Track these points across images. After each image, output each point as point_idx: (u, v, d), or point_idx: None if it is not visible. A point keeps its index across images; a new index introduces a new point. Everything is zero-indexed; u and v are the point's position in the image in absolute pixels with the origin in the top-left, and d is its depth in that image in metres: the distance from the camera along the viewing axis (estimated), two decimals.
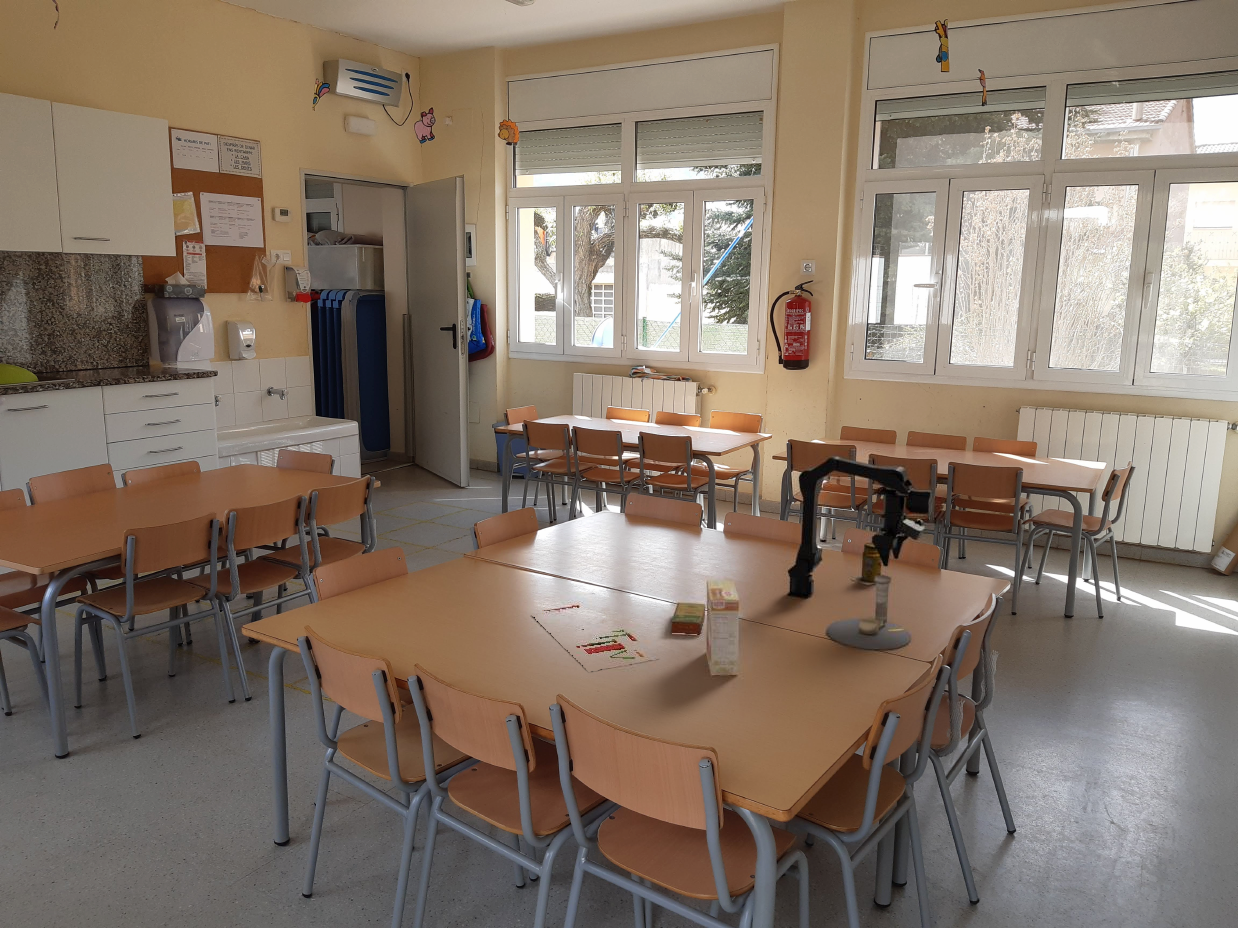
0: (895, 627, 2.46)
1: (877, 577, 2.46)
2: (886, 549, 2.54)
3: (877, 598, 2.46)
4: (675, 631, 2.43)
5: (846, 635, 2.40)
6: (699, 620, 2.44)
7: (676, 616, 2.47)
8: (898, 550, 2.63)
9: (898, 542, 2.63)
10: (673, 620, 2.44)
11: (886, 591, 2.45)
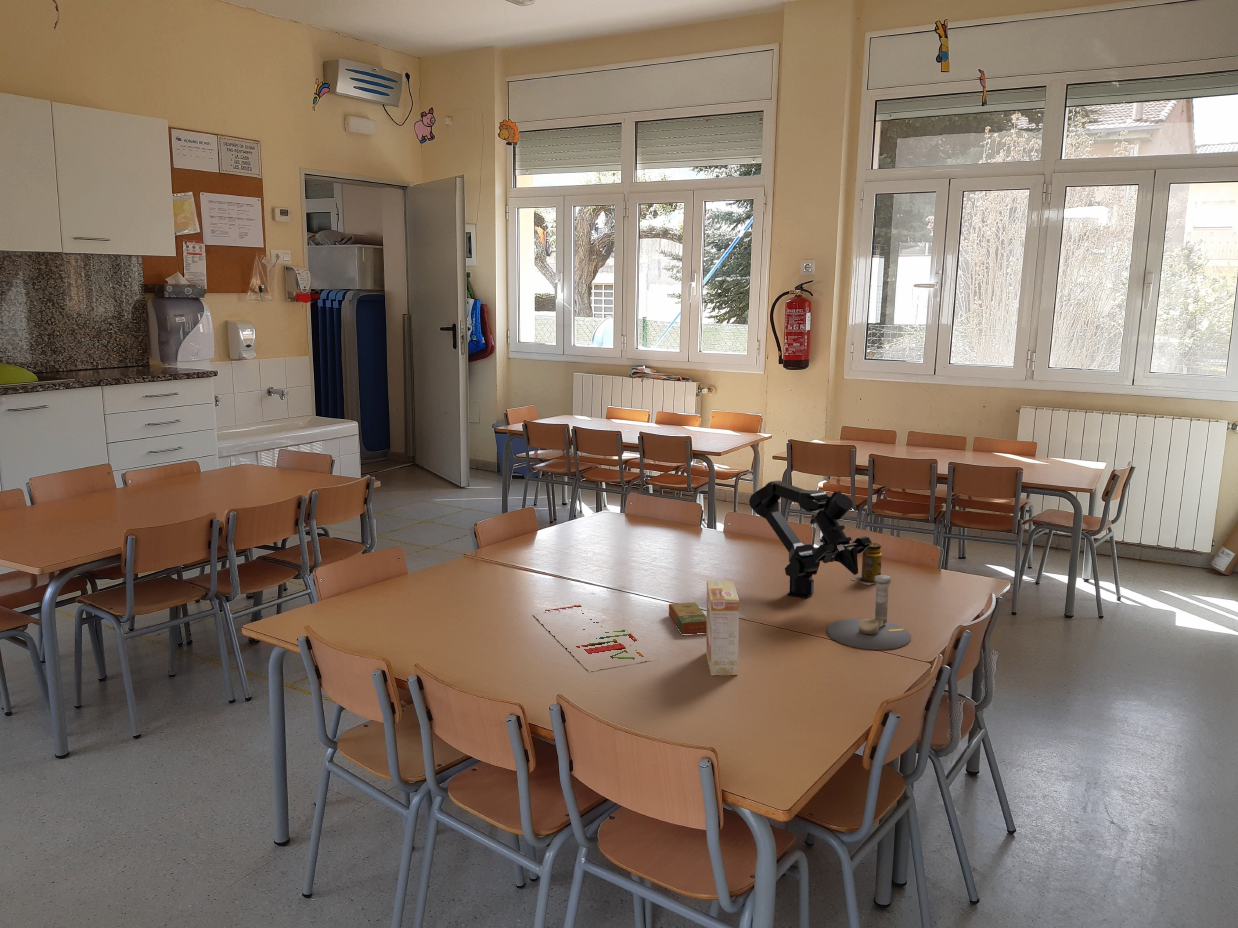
0: (895, 627, 2.46)
1: (877, 577, 2.46)
2: None
3: (877, 598, 2.46)
4: (686, 632, 2.43)
5: (846, 635, 2.40)
6: (706, 618, 2.45)
7: (681, 617, 2.46)
8: None
9: None
10: (683, 621, 2.43)
11: (886, 591, 2.45)
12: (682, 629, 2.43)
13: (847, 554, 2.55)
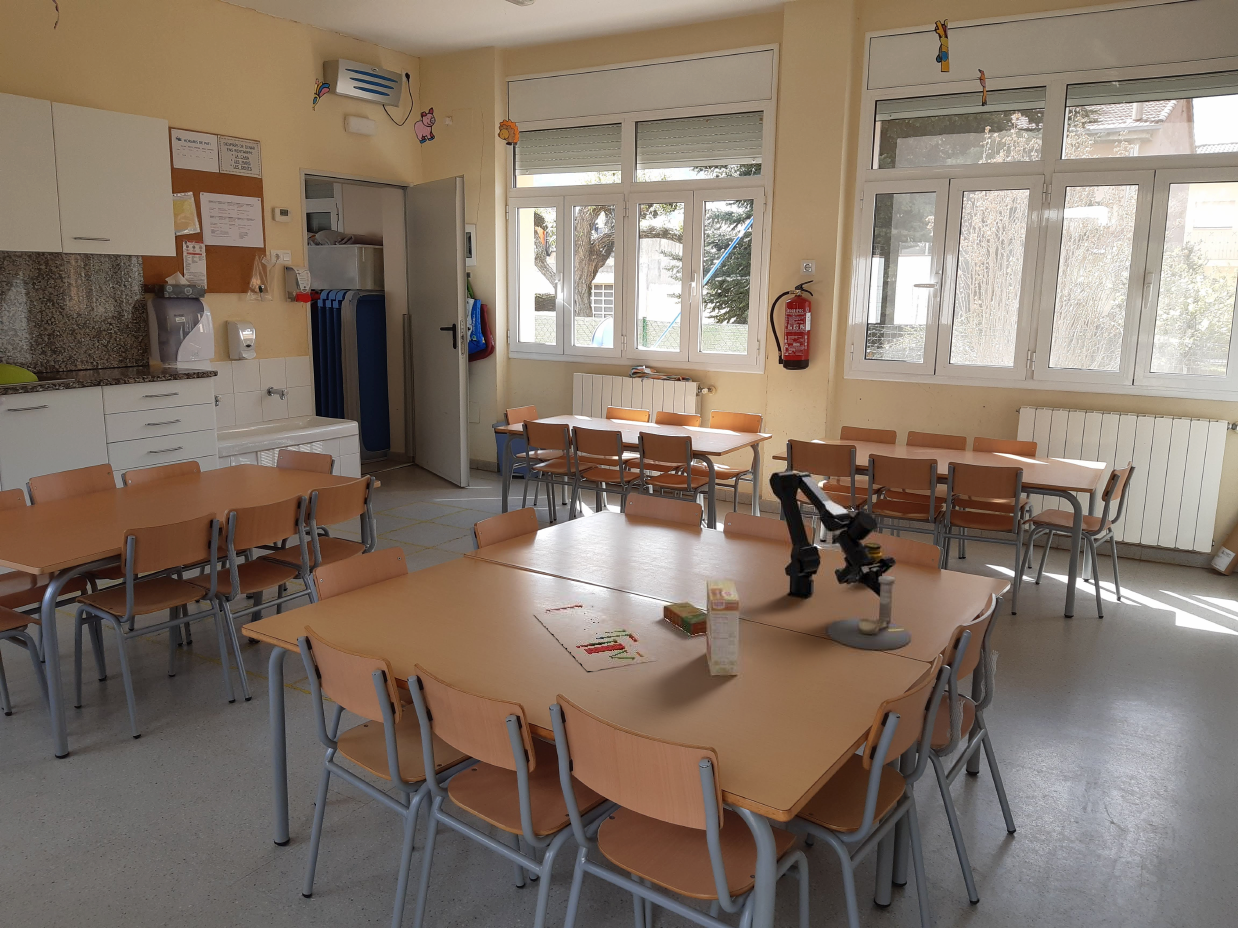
0: (895, 627, 2.46)
1: (881, 578, 2.45)
2: None
3: (880, 599, 2.46)
4: (695, 632, 2.43)
5: (846, 635, 2.40)
6: None
7: (686, 617, 2.46)
8: None
9: None
10: (691, 622, 2.43)
11: (889, 592, 2.44)
12: (691, 629, 2.42)
13: (872, 576, 2.48)
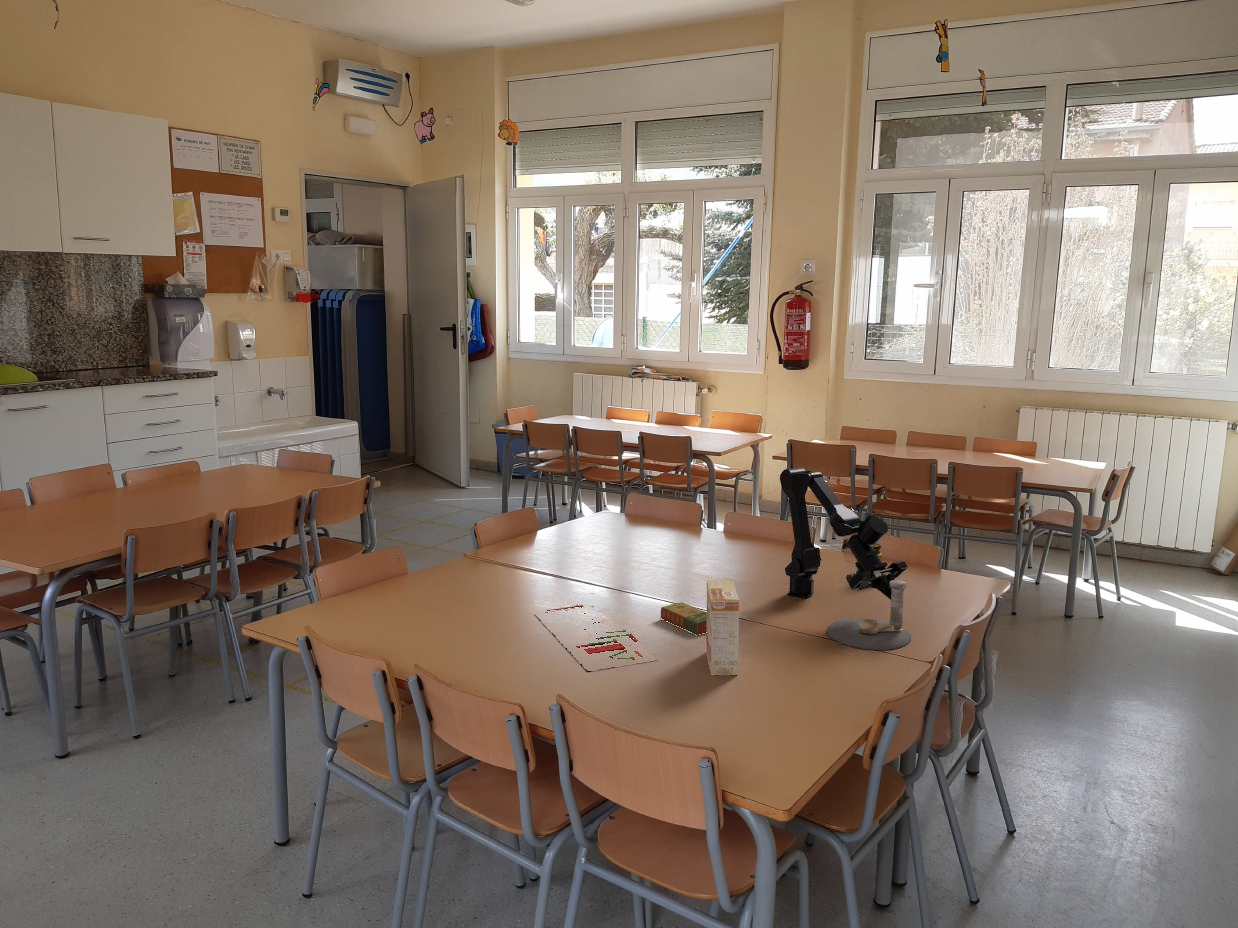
0: None
1: (892, 581, 2.42)
2: None
3: (891, 602, 2.43)
4: (700, 632, 2.43)
5: (846, 635, 2.40)
6: None
7: (689, 618, 2.46)
8: None
9: None
10: (696, 621, 2.43)
11: (898, 597, 2.40)
12: (697, 629, 2.42)
13: (885, 580, 2.44)
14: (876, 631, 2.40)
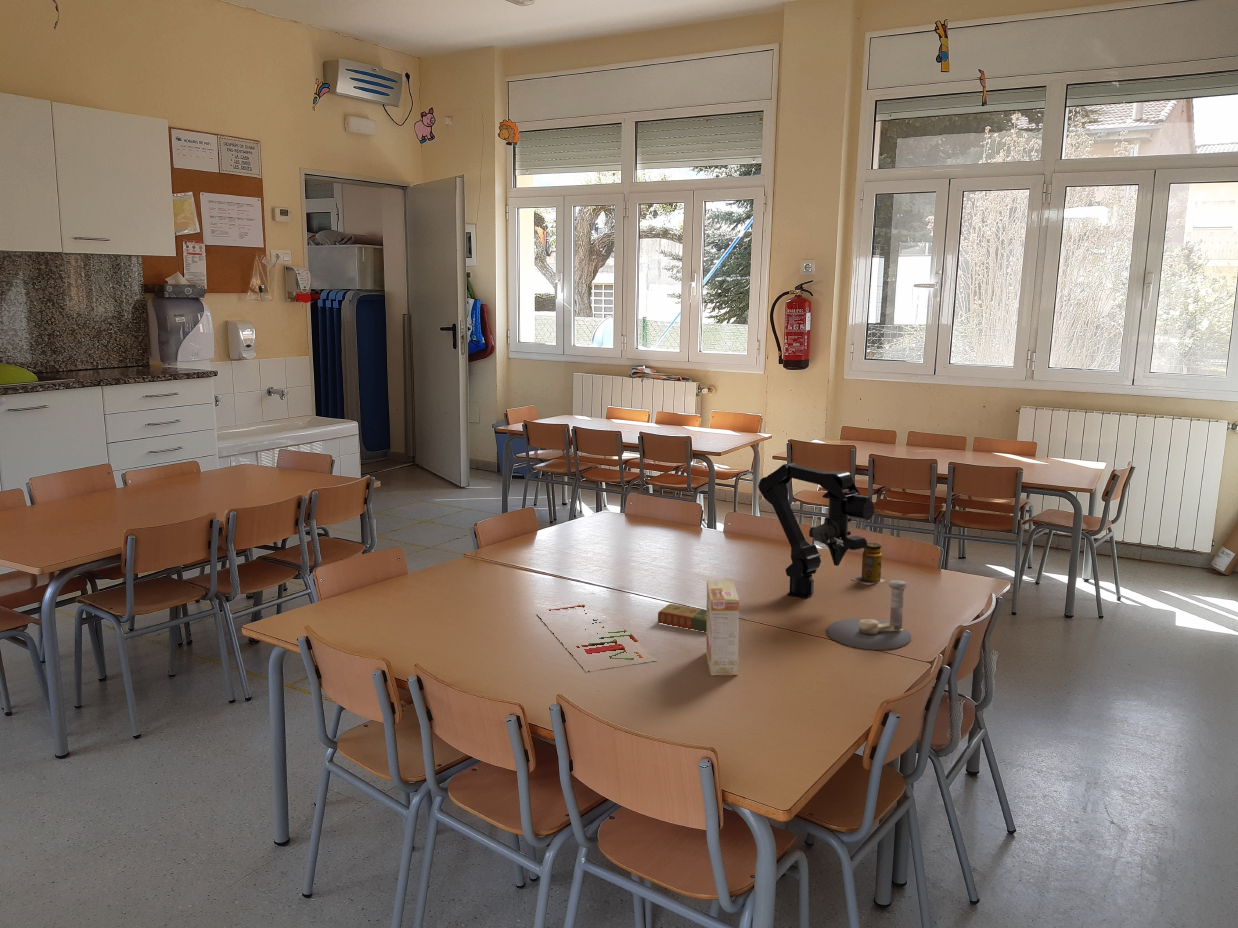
0: None
1: (892, 581, 2.42)
2: None
3: (891, 602, 2.43)
4: None
5: (846, 635, 2.40)
6: None
7: (697, 617, 2.46)
8: None
9: None
10: None
11: (898, 597, 2.40)
12: None
13: None
14: (876, 631, 2.40)
